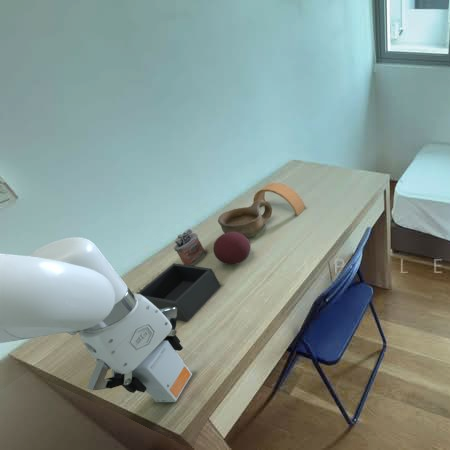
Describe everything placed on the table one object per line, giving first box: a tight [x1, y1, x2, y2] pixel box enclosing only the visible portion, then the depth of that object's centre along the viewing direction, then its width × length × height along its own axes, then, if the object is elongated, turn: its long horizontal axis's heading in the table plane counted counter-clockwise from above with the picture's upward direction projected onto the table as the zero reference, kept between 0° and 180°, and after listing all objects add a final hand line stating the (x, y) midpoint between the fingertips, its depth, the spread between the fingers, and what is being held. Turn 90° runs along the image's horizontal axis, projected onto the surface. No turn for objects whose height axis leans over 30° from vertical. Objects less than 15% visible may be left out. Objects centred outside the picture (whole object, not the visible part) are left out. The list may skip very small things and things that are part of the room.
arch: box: [252, 182, 306, 217], centre depth 119 cm, size 6×20×10 cm, turn 71°
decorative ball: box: [212, 232, 251, 266], centre depth 94 cm, size 10×10×10 cm
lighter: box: [173, 228, 207, 266], centre depth 95 cm, size 8×3×10 cm, turn 171°
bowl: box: [217, 200, 273, 239], centre depth 108 cm, size 18×14×10 cm
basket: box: [136, 262, 222, 323], centre depth 82 cm, size 13×13×7 cm
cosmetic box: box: [132, 341, 193, 403], centre depth 60 cm, size 6×4×12 cm
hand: (158, 367), depth 60 cm, fingers open, 7 cm apart
